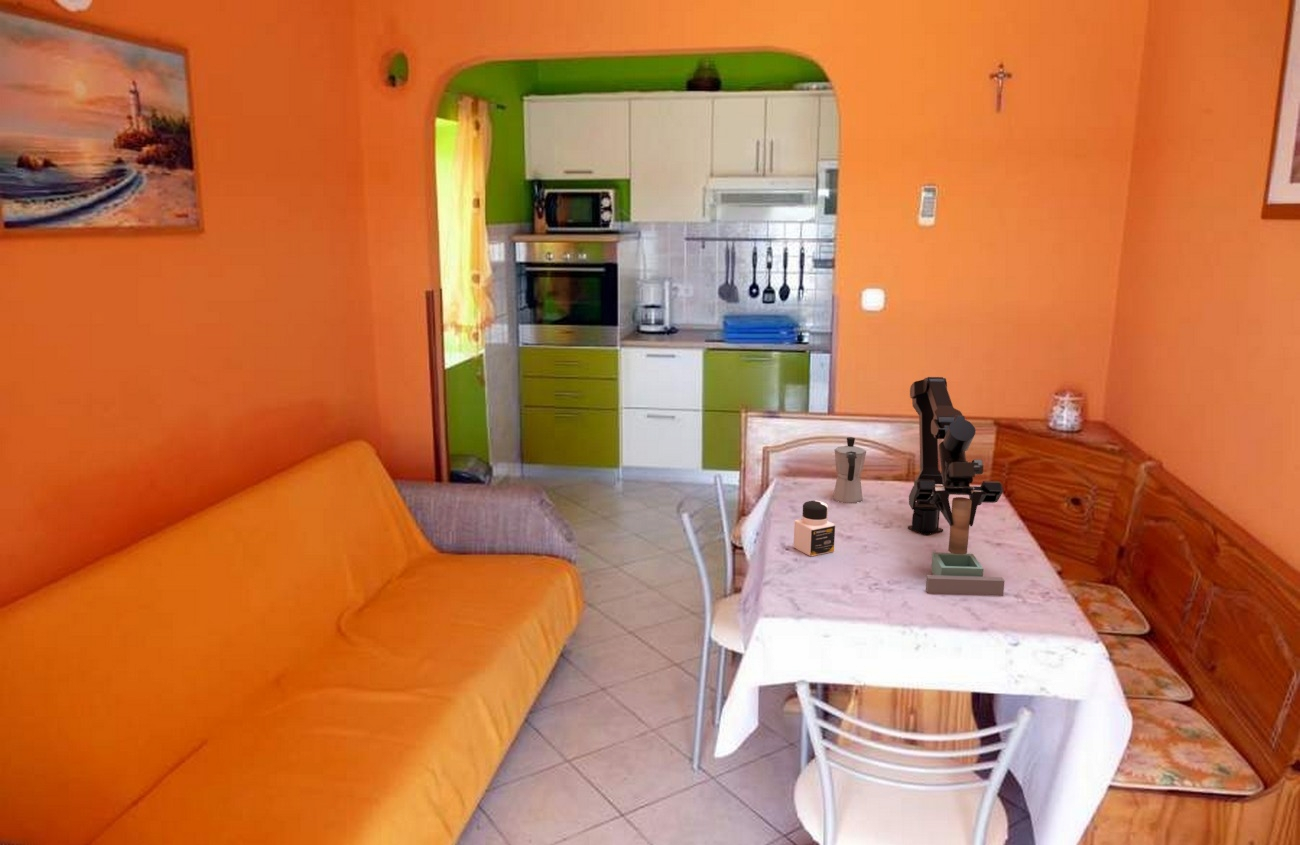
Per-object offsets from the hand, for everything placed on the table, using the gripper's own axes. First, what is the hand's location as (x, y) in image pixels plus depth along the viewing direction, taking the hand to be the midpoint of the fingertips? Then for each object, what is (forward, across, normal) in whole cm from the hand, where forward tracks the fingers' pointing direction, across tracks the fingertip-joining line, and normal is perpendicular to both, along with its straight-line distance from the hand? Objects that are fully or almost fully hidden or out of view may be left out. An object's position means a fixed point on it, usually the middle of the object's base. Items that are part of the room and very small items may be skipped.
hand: (961, 525), depth 207 cm
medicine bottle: (-3, -30, +22) cm, 37 cm away
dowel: (+4, 0, +6) cm, 7 cm away
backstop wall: (+14, 0, +5) cm, 15 cm away
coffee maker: (-31, -17, +50) cm, 61 cm away
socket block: (+8, 0, +10) cm, 13 cm away
